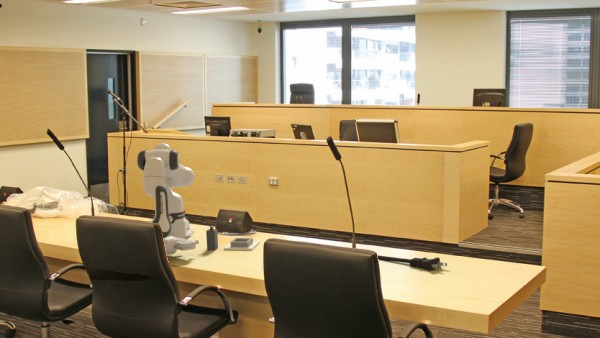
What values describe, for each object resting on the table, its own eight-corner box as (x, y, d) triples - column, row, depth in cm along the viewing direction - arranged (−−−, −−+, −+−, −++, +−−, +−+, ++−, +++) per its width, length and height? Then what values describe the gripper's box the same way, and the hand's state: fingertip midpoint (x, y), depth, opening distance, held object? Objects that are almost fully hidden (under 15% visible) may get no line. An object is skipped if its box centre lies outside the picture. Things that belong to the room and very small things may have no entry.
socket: (232, 243, 392) (232, 236, 392) (259, 243, 389) (259, 237, 389) (223, 249, 378) (223, 243, 377) (252, 250, 375) (251, 243, 374)
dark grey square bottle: (209, 247, 383) (208, 225, 382) (218, 247, 382) (217, 225, 381) (207, 249, 379) (206, 227, 377) (215, 250, 378) (214, 227, 376)
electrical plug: (439, 273, 323) (438, 262, 323) (363, 263, 351) (363, 252, 351) (449, 269, 330) (448, 258, 329) (374, 259, 358) (373, 249, 357)
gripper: (180, 242, 354) (204, 237, 363) (157, 236, 369) (180, 231, 378) (181, 255, 355) (205, 249, 364) (158, 248, 369) (181, 243, 379)
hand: (192, 240), depth 371 cm, fingers open, 8 cm apart
